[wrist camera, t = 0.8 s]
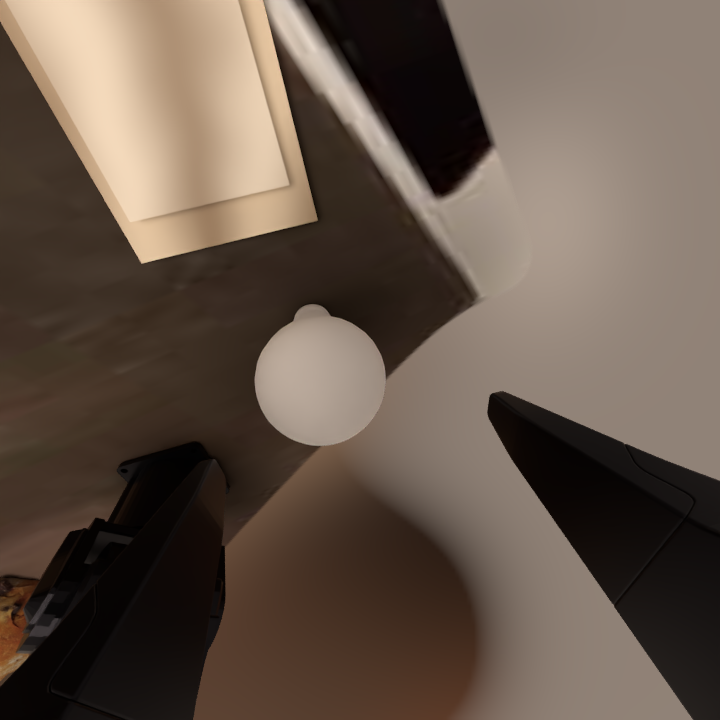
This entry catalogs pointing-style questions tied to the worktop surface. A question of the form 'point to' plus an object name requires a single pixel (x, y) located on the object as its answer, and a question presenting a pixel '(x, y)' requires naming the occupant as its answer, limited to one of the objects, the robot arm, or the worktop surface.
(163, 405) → the worktop surface
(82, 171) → the worktop surface
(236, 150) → the base
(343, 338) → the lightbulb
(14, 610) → the bread roll
